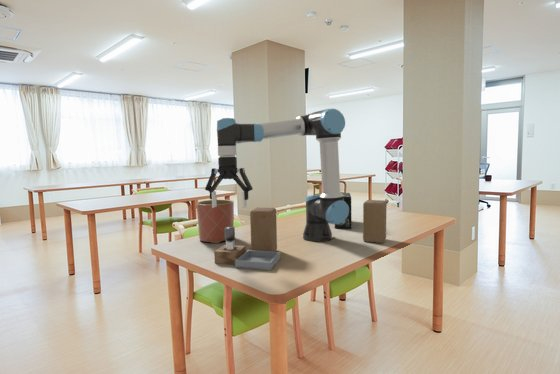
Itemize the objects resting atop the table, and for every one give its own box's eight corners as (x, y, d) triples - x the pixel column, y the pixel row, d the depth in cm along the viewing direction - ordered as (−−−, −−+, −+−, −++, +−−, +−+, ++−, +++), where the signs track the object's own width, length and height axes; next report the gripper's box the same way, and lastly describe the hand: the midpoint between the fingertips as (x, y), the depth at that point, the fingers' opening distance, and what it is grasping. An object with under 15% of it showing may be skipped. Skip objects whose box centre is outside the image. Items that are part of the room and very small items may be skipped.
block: (386, 239, 170) (386, 200, 168) (383, 244, 161) (384, 203, 159) (366, 237, 174) (366, 199, 172) (362, 242, 165) (362, 202, 163)
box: (334, 220, 218) (334, 192, 216) (349, 221, 217) (349, 192, 215) (334, 228, 195) (334, 196, 194) (351, 229, 194) (351, 196, 192)
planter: (217, 246, 163) (216, 205, 161) (190, 241, 173) (188, 203, 171) (242, 237, 179) (240, 200, 177) (215, 233, 189) (214, 198, 187)
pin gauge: (237, 258, 143) (236, 226, 141) (233, 261, 139) (232, 229, 137) (228, 258, 144) (226, 226, 142) (224, 261, 140) (222, 228, 138)
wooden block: (272, 256, 145) (271, 211, 143) (250, 255, 147) (249, 210, 145) (277, 249, 155) (276, 207, 153) (256, 249, 157) (255, 207, 155)
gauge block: (245, 257, 145) (245, 245, 144) (237, 264, 135) (236, 252, 135) (224, 255, 147) (224, 244, 147) (214, 263, 138) (214, 251, 137)
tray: (280, 258, 142) (280, 251, 142) (270, 270, 128) (270, 262, 127) (248, 256, 145) (247, 249, 145) (235, 267, 131) (235, 260, 131)
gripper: (259, 155, 137) (260, 206, 140) (204, 156, 144) (206, 205, 146) (253, 156, 130) (254, 209, 132) (195, 157, 136) (198, 208, 139)
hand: (229, 207), depth 139 cm, fingers open, 13 cm apart
